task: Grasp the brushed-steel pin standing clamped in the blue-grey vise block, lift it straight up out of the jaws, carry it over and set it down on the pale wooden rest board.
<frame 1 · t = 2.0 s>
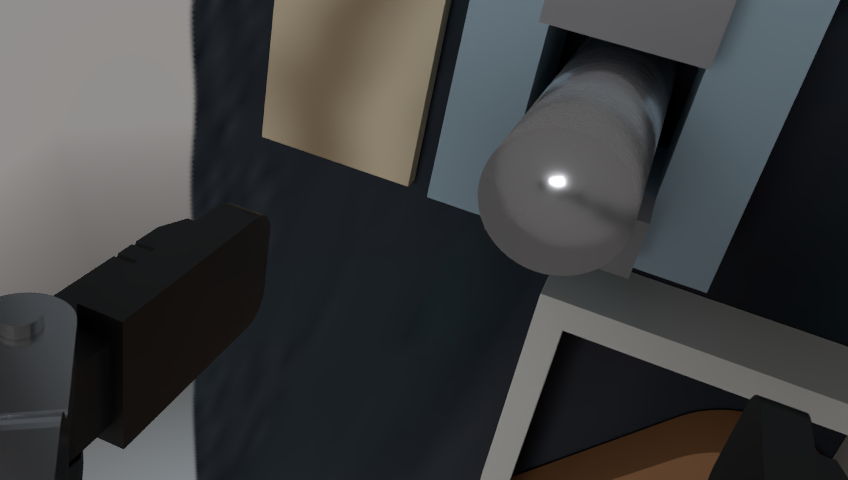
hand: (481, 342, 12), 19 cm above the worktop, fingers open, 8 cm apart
vise block: (625, 69, 28), on the worktop
steel pin: (625, 69, 28), resting in vise block
rest board: (356, 56, 32), on the worktop
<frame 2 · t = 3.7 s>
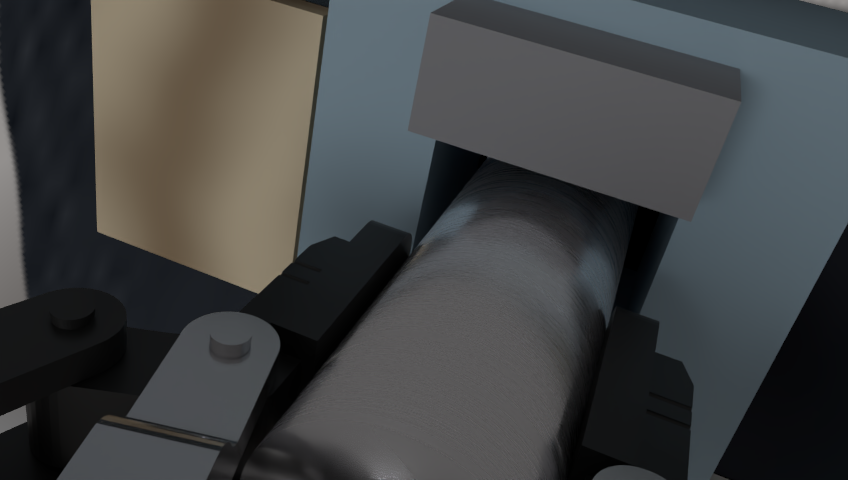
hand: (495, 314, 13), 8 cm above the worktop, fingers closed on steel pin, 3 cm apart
vise block: (574, 161, 20), on the worktop
steel pin: (574, 161, 20), resting in vise block, touching gripper
rest board: (210, 129, 23), on the worktop
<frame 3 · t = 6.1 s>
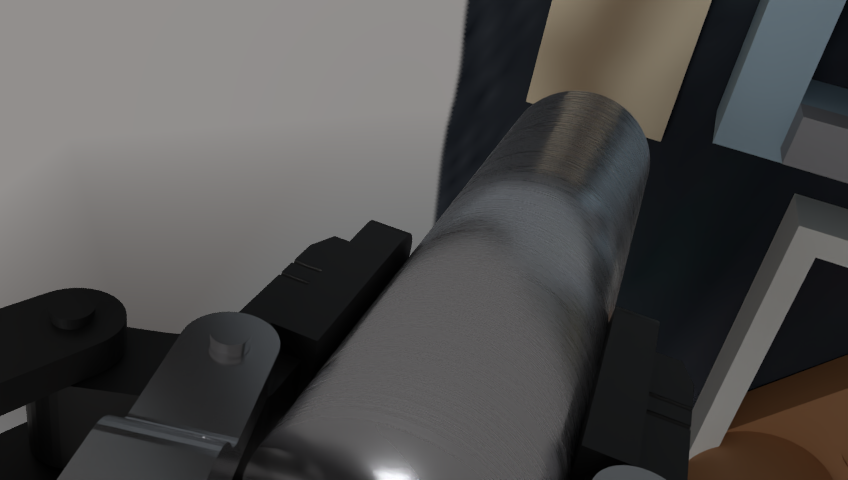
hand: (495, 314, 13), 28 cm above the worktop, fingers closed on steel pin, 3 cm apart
steel pin: (576, 160, 20), point 20 cm above the worktop, touching gripper
bracket: (834, 429, 42), resting in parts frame
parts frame: (837, 432, 42), on the worktop
rest board: (621, 30, 37), on the worktop
when the fingers open (9 cm above the worktop, at t = 8.6 s): steel pin stays where it is, resting on rest board.
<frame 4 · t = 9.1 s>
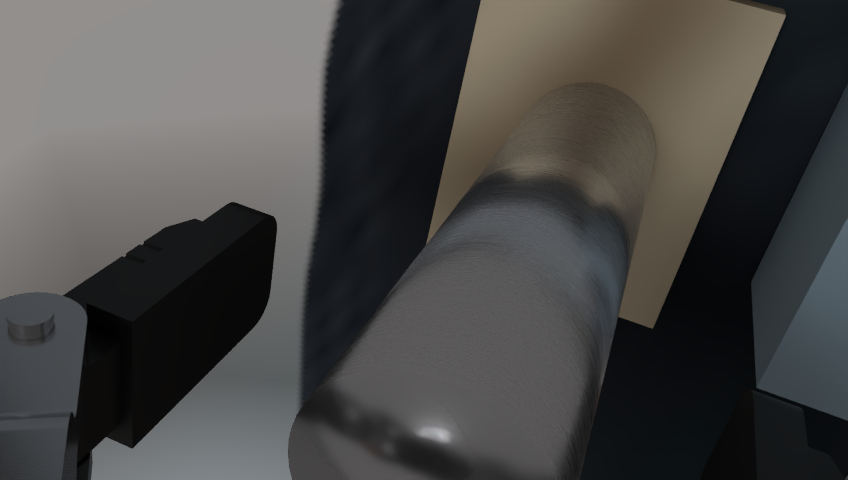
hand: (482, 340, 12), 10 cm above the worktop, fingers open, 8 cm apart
steel pin: (585, 149, 20), point 1 cm above the worktop, touching rest board
rest board: (584, 139, 21), on the worktop
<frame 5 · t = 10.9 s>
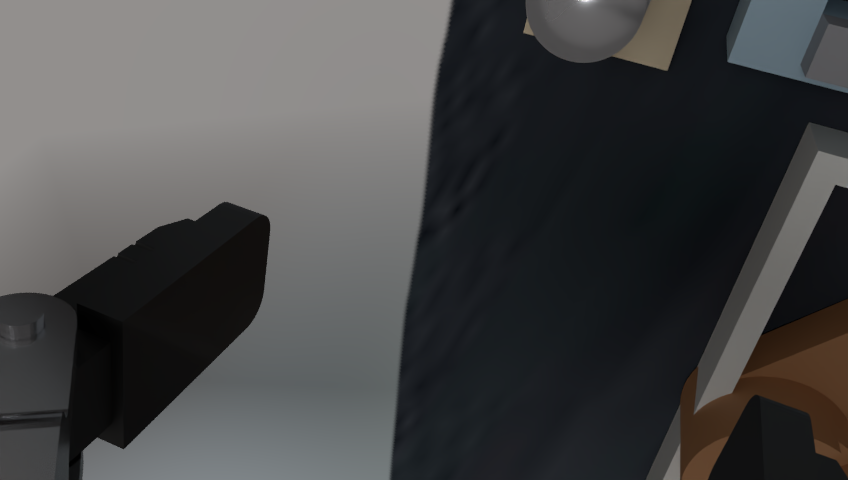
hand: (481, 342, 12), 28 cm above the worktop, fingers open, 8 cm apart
bracket: (847, 373, 41), resting in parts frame
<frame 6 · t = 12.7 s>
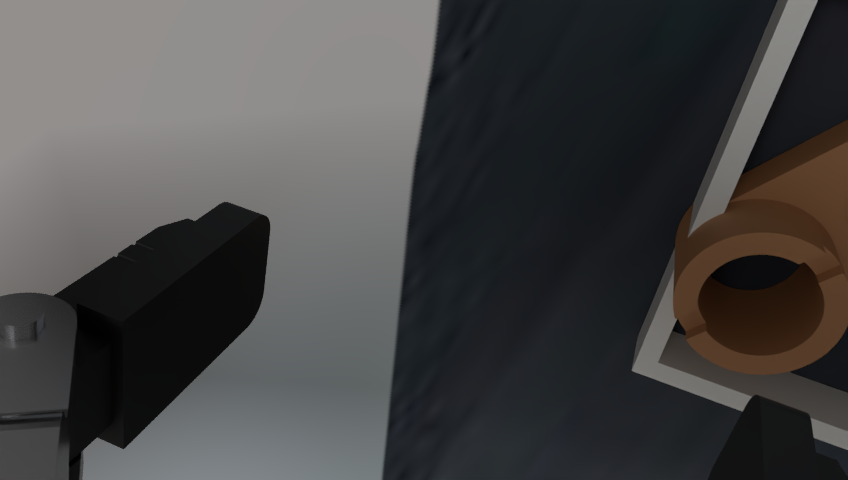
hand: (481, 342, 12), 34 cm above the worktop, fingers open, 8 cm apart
bracket: (833, 205, 43), resting in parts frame
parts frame: (839, 207, 42), on the worktop
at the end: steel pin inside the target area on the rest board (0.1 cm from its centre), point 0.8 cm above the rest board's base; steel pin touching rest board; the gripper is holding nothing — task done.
